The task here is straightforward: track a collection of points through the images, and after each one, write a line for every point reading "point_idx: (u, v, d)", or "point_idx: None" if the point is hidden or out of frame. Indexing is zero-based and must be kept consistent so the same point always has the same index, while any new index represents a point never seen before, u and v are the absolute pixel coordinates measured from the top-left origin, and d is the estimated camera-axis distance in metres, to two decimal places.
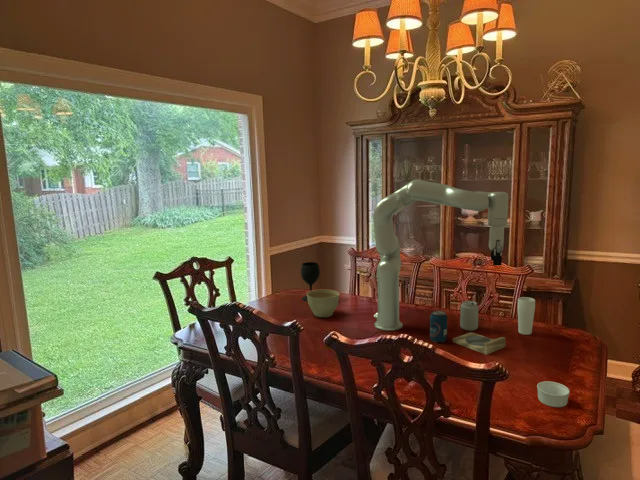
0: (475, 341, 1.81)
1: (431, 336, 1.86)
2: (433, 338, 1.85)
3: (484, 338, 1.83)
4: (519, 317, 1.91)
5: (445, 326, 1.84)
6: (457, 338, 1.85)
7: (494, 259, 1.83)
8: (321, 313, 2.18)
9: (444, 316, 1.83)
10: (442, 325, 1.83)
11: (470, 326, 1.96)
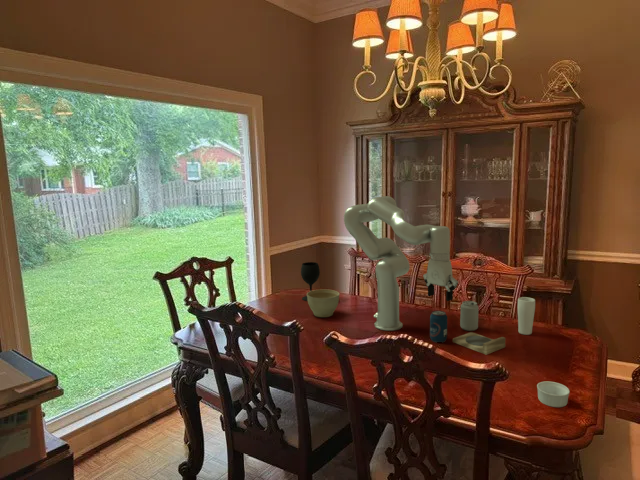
0: (475, 341, 1.81)
1: (431, 336, 1.86)
2: (433, 338, 1.85)
3: (484, 338, 1.83)
4: (519, 317, 1.91)
5: (445, 326, 1.84)
6: (457, 338, 1.85)
7: (448, 295, 1.79)
8: (321, 313, 2.18)
9: (444, 316, 1.83)
10: (442, 325, 1.83)
11: (470, 326, 1.96)
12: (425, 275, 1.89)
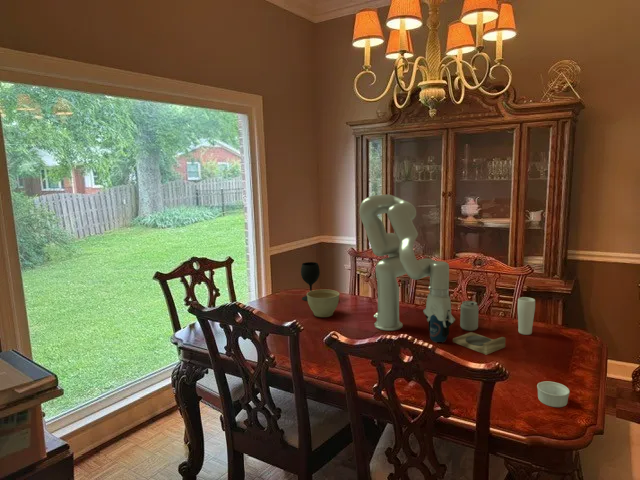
0: (475, 341, 1.81)
1: (431, 336, 1.86)
2: (433, 338, 1.85)
3: (484, 338, 1.83)
4: (519, 317, 1.91)
5: None
6: (457, 338, 1.85)
7: (444, 331, 1.83)
8: (321, 313, 2.18)
9: None
10: (442, 325, 1.83)
11: (470, 326, 1.96)
12: (425, 310, 1.91)
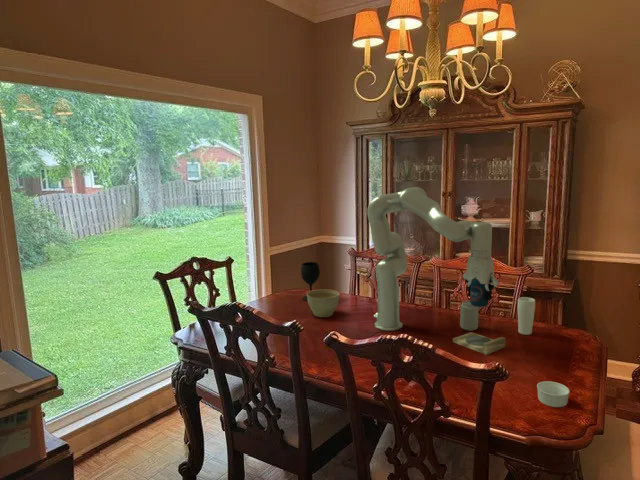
0: (475, 341, 1.81)
1: (472, 301, 1.78)
2: (474, 303, 1.77)
3: (484, 338, 1.83)
4: (519, 317, 1.91)
5: None
6: (457, 338, 1.85)
7: (486, 294, 1.74)
8: (321, 313, 2.18)
9: None
10: (484, 289, 1.75)
11: (470, 326, 1.96)
12: (465, 275, 1.83)
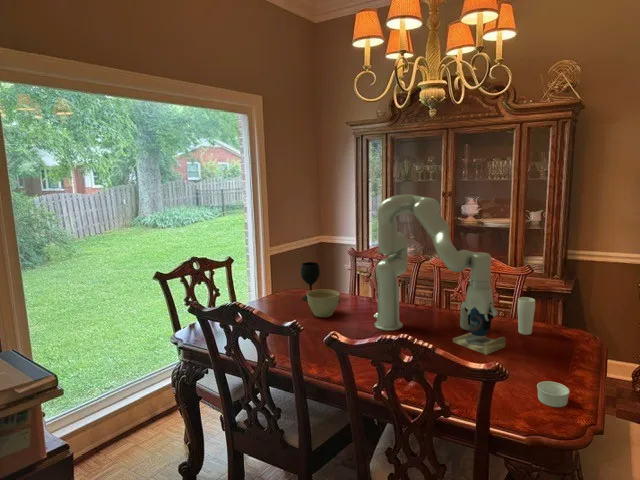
0: (475, 341, 1.81)
1: (472, 330, 1.80)
2: (474, 332, 1.79)
3: (484, 338, 1.83)
4: (519, 317, 1.91)
5: None
6: (457, 338, 1.85)
7: (486, 324, 1.76)
8: (321, 313, 2.18)
9: None
10: (483, 318, 1.77)
11: None
12: (464, 303, 1.85)
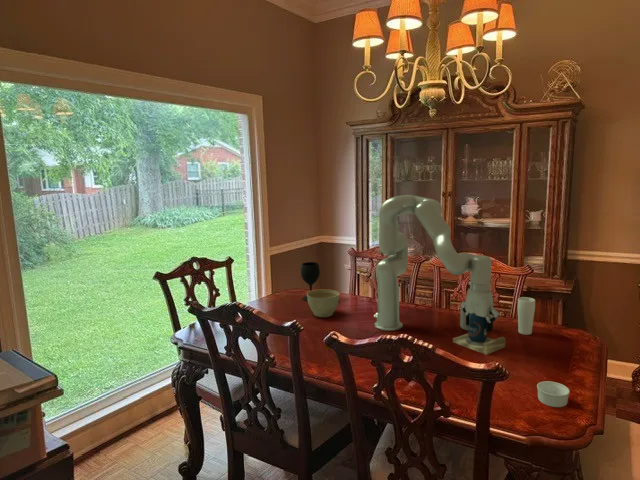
0: None
1: (470, 336, 1.80)
2: (473, 338, 1.79)
3: None
4: (519, 317, 1.91)
5: (485, 326, 1.78)
6: (457, 338, 1.85)
7: (488, 326, 1.76)
8: (321, 313, 2.18)
9: None
10: (482, 325, 1.77)
11: None
12: (463, 304, 1.85)
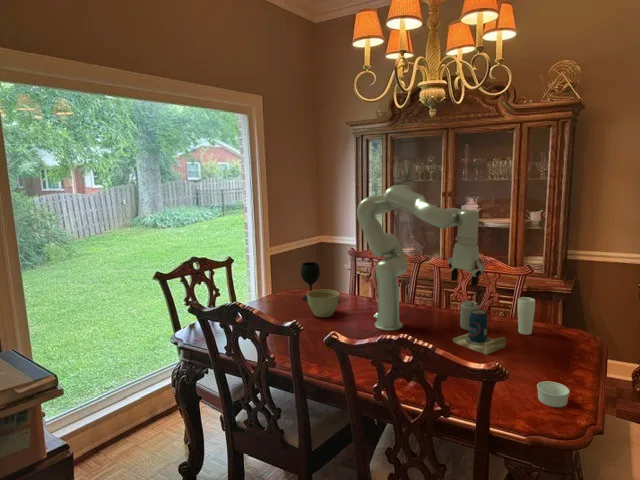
0: None
1: (470, 336, 1.80)
2: (473, 338, 1.79)
3: None
4: (519, 317, 1.91)
5: (485, 326, 1.78)
6: (457, 338, 1.85)
7: (473, 280, 1.76)
8: (321, 313, 2.18)
9: (484, 315, 1.78)
10: (482, 325, 1.77)
11: None
12: (449, 259, 1.85)
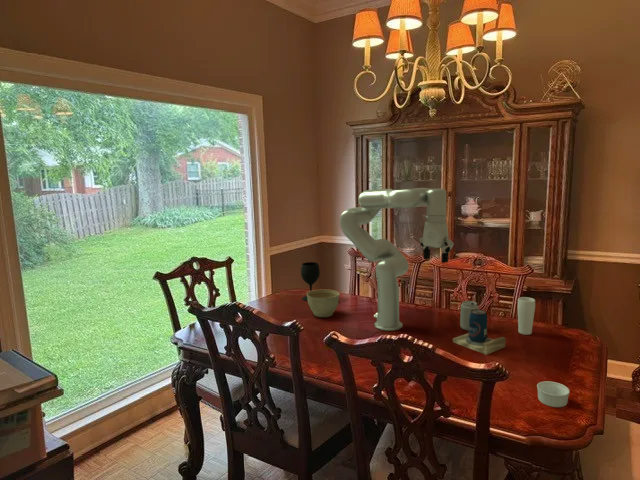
0: None
1: (470, 336, 1.80)
2: (473, 338, 1.79)
3: None
4: (519, 317, 1.91)
5: (485, 326, 1.78)
6: (457, 338, 1.85)
7: (443, 257, 1.80)
8: (321, 313, 2.18)
9: (484, 315, 1.78)
10: (482, 325, 1.77)
11: None
12: (421, 238, 1.90)
